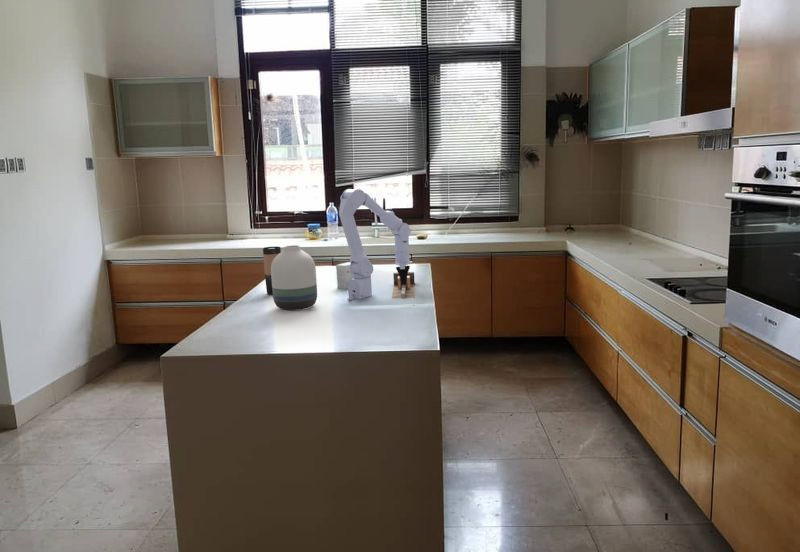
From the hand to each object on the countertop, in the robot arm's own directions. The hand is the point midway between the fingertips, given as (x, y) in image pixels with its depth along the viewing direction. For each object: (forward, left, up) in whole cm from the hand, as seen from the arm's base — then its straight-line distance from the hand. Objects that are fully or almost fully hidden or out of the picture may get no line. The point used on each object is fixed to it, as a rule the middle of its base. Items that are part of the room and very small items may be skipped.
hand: (403, 283), depth 268 cm
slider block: (+3, +2, -2) cm, 5 cm away
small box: (-1, +30, -4) cm, 30 cm away
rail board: (-1, -1, -4) cm, 4 cm away
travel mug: (-25, +51, -4) cm, 57 cm away
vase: (-42, +21, -4) cm, 47 cm away
